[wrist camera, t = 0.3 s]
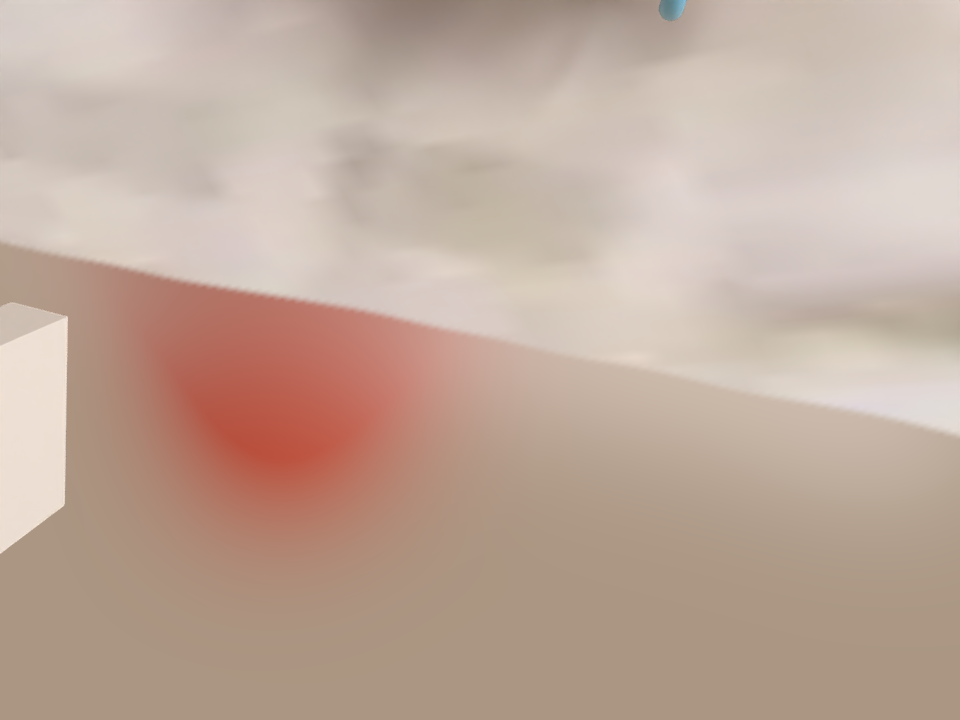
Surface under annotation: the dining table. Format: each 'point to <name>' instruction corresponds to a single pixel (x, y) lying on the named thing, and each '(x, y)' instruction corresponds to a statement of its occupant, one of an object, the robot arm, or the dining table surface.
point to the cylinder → (671, 9)
